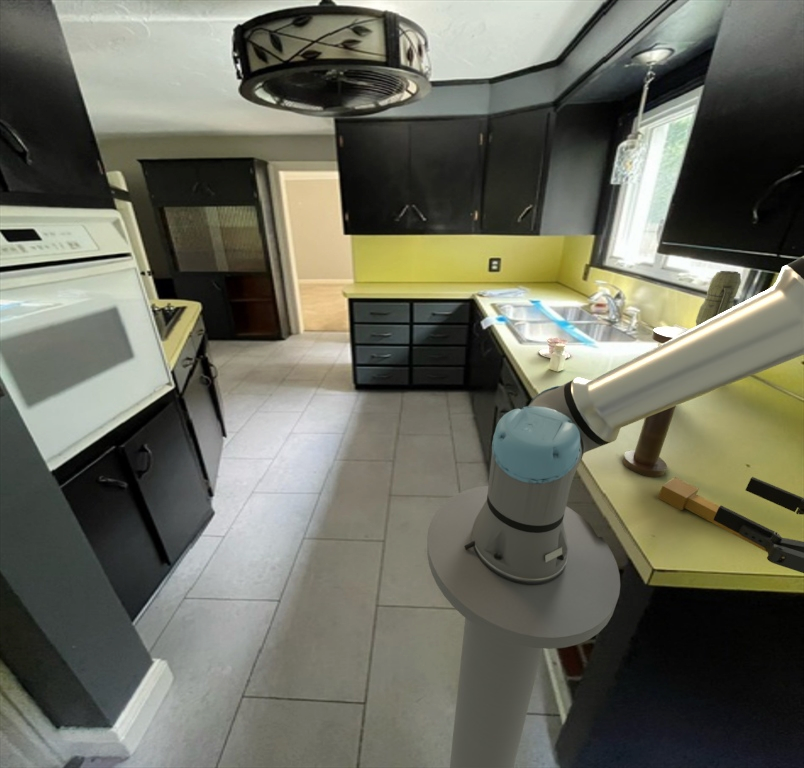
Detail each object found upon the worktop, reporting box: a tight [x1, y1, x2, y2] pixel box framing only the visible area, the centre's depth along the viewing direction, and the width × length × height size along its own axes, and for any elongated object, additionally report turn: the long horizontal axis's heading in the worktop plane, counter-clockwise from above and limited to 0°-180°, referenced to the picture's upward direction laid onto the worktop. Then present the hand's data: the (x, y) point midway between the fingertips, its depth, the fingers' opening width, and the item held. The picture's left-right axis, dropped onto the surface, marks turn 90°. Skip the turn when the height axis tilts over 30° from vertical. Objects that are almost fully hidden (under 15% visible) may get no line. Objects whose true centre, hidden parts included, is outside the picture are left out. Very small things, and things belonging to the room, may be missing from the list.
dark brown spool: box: [622, 326, 692, 478], centre depth 74 cm, size 10×10×30 cm
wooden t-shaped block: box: [658, 476, 785, 559], centre depth 64 cm, size 5×18×3 cm, turn 31°
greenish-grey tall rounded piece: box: [695, 270, 742, 327], centre depth 126 cm, size 9×12×35 cm
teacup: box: [538, 337, 571, 360], centre depth 148 cm, size 12×12×6 cm
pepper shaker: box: [548, 344, 567, 372], centre depth 132 cm, size 4×4×10 cm
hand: (733, 497), depth 62 cm, fingers open, 13 cm apart
